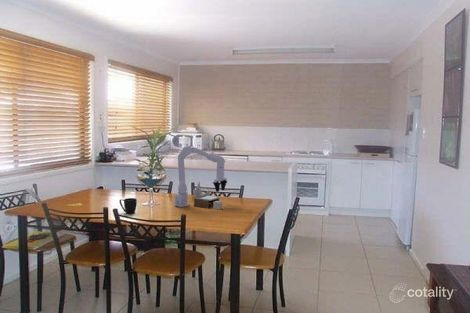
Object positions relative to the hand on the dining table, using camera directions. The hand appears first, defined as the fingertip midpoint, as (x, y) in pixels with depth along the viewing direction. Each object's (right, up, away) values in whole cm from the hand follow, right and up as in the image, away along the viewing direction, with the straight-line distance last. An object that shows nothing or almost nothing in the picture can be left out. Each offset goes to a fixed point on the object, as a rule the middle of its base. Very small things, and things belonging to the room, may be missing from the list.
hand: (220, 190), depth 302 cm
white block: (-1, -12, -12) cm, 17 cm away
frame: (-10, -11, -2) cm, 14 cm away
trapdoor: (-9, -5, -2) cm, 11 cm away
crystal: (-16, -9, +18) cm, 25 cm away
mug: (-61, -13, -30) cm, 69 cm away
